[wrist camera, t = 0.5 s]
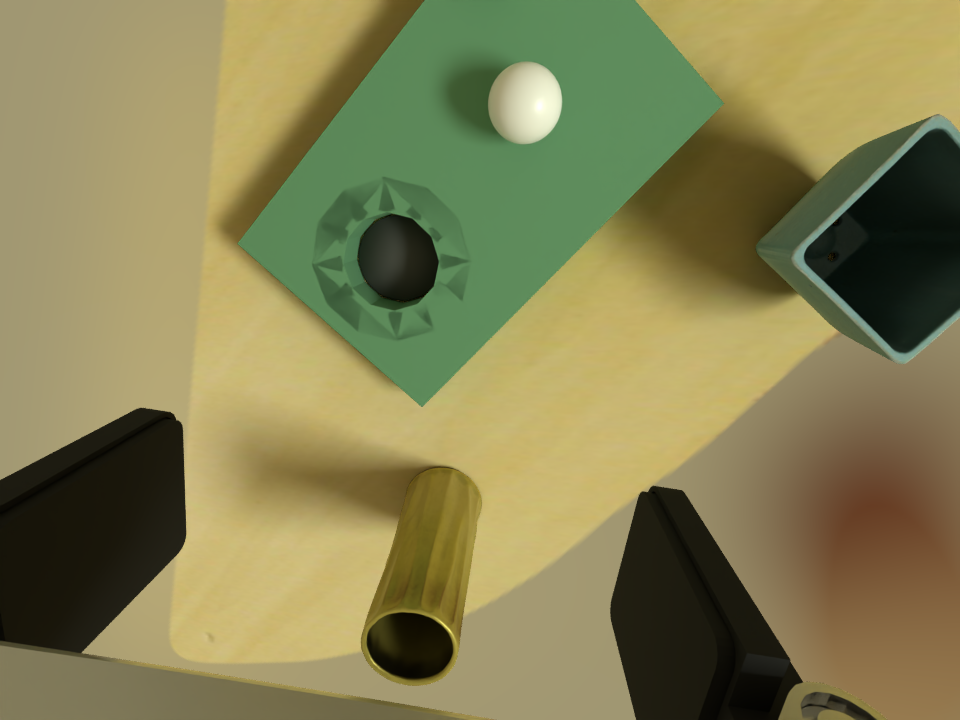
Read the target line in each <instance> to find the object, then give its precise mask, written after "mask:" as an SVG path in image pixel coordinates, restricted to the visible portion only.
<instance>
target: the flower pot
mask: <svg viewBox="0 0 960 720" xmlns="http://www.w3.org/2000/svg"><path fill="white" fill-rule="evenodd" d="M838 218H839V223H838V224H837V225H833V224H832V223H834V222H835V221H836V220H837V219H838ZM756 252H757V254H758V255H759V256H760V257H761V258H762V259H763V260H764V261H765V262H766V263H767V264H768V265H769V266H770V267H771V268H772V269H774V270H775V271H776V272H777V273H778V274H779V275H780V276H781V277H782V278H783V279H784V280H785V281H786V282H787V283H788V284H789V285H790V286H791V287H792V288H793V289H794V290H795V291H796V292H797V293H798V294H799V295H801V296H802V297H803V298H804V299H805V300H806V301H807V302H808V303H809V304H810V305H811V306H812V307H813V308H814V309H815V310H816V311H817V312H818V313H819V314H820V315H821V316H822V317H823V318H824V319H825V320H826V321H827V322H828V323H829V324H831V325H832V326H833V327H834V328H835V329H837V330H838V331H840V332H841V333H842V334H844V335H846V336H848V337H849V338H851V339H853V340H854V341H856V342H858V343H860V344H862V345H864V346H865V347H867V348H869V349H871V350H873V351H875V352H876V353H879V354H880V355H882V356H884V357H886V358H888V359H890V360H891V361H893V362H895V363H898V364H905V363H907V362H908V361H909V360H911V359H912V358H914V357H915V356H916V355H917V354H919V353H920V352H921V351H922V350H923V349H924V348H925V347H927V346H928V345H929V344H930V343H931V342H932V341H934V340H935V339H936V338H937V337H938V336H939V335H940V334H941V333H943V331H944V330H945V329H947V328H948V327H949V326H950V325H951V324H952V323H954V322H955V321H956V320H957V319H959V318H960V132H959V131H958V129H957V128H956V127H955V126H954V125H953V124H952V122H951V121H949V120H948V119H947V118H945V117H943V116H942V115H939V114H937V115H934V116H931V117H929V118H926V119H924V120H921V121H919V122H916V123H914V124H911V125H909V126H906V127H904V128H901V129H899V130H897V131H894V132H892V133H889V134H887V135H884V136H882V137H879V138H877V139H875V140H872V141H870V142H868V143H866V144H864V145H862V146H860V147H858V148H857V149H855V150H854V151H852V152H851V153H849V154H848V155H847V156H845V157H844V158H843V159H841V160H840V161H839V162H838V163H837V164H836V165H835V166H833V167H832V168H831V169H830V170H829V171H828V172H827V173H826V174H825V175H824V176H823V177H822V178H821V179H820V180H819V181H818V182H817V183H816V184H815V185H814V186H813V187H812V188H811V189H810V190H809V191H808V192H807V193H806V194H805V195H804V197H803V198H802V199H801V200H800V201H799V202H798V203H797V204H796V205H795V206H794V207H793V208H792V209H791V210H790V211H789V212H788V213H787V214H786V215H785V216H784V217H783V218H782V219H781V220H780V221H779V222H778V223H777V224H776V225H775V226H774V227H773V228H772V229H771V230H770V231H769V232H768V233H767V234H766V235H765V236H764V237H762V238H761V239H760V240H759V242H758V243H757V245H756ZM830 253H835V255H836V257H835V259H834V260H832V261H830V260H829V259H828V255H829V254H830Z"/></svg>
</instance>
